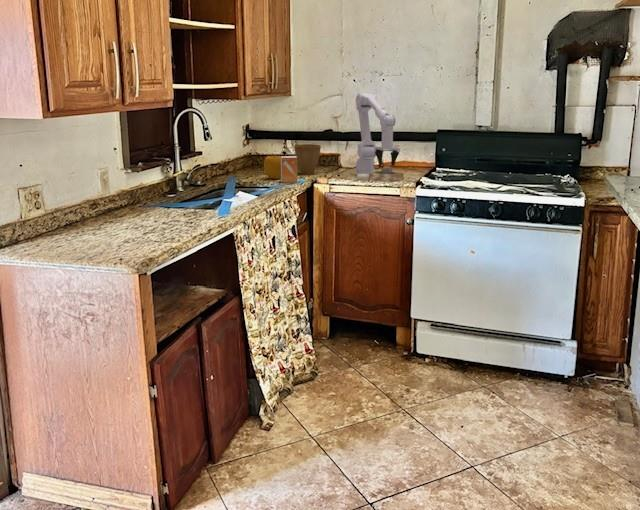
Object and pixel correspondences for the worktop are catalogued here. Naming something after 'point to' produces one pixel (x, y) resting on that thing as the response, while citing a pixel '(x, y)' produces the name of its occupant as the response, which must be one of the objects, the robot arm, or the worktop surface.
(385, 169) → the slate plug
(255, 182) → the worktop surface
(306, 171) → the plant pot
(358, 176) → the pale grey block
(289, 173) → the small box
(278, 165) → the mustard rounded block
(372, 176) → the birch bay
